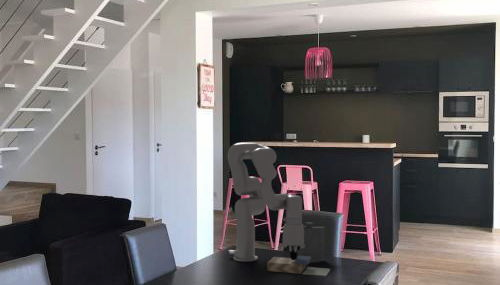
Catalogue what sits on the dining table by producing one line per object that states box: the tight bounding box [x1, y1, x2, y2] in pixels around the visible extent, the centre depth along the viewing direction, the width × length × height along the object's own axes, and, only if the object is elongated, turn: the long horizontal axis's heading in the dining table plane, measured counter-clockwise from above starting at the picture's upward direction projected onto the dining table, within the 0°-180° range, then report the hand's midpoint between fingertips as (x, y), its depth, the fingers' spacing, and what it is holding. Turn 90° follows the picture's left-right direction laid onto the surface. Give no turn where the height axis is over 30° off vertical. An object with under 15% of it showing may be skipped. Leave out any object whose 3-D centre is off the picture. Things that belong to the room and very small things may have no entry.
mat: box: [301, 266, 331, 277], centre depth 254 cm, size 11×13×1 cm
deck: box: [266, 256, 307, 275], centre depth 258 cm, size 16×12×4 cm
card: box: [295, 255, 311, 266], centre depth 256 cm, size 6×9×2 cm, turn 163°
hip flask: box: [293, 221, 326, 263], centre depth 274 cm, size 16×4×20 cm, turn 94°
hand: (293, 259), depth 257 cm, fingers closed
